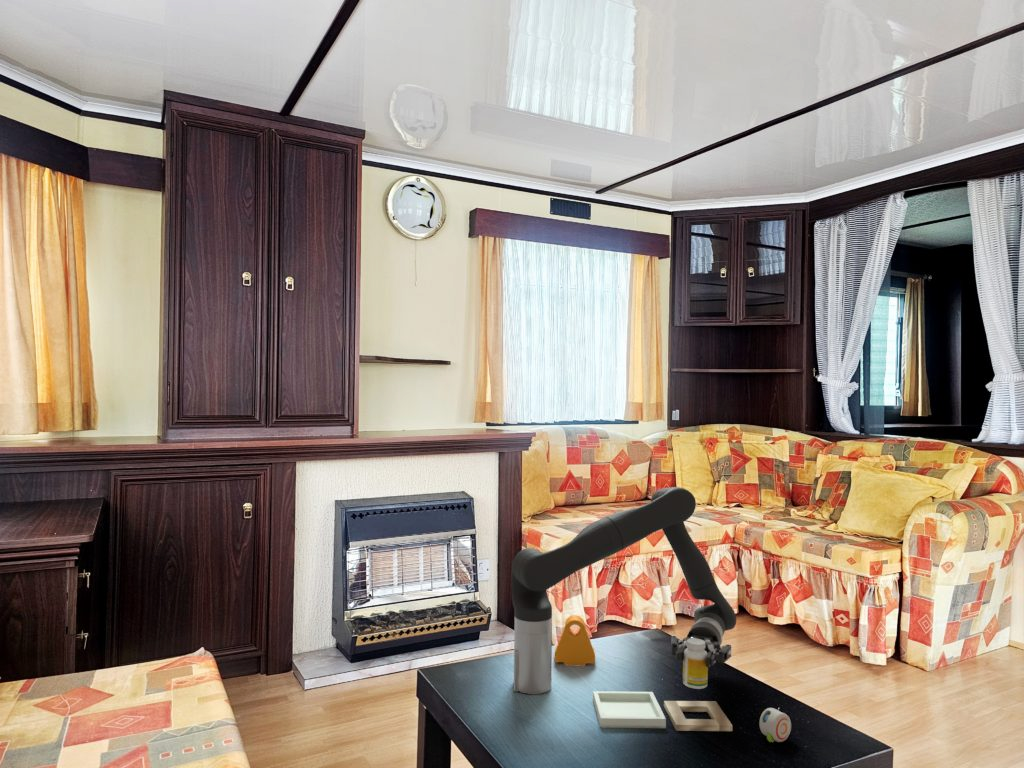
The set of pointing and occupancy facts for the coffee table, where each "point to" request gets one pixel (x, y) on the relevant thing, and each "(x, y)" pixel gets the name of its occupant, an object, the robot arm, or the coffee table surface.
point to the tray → (628, 710)
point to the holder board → (682, 724)
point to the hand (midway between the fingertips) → (693, 660)
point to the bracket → (574, 644)
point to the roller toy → (775, 725)
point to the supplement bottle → (695, 664)
